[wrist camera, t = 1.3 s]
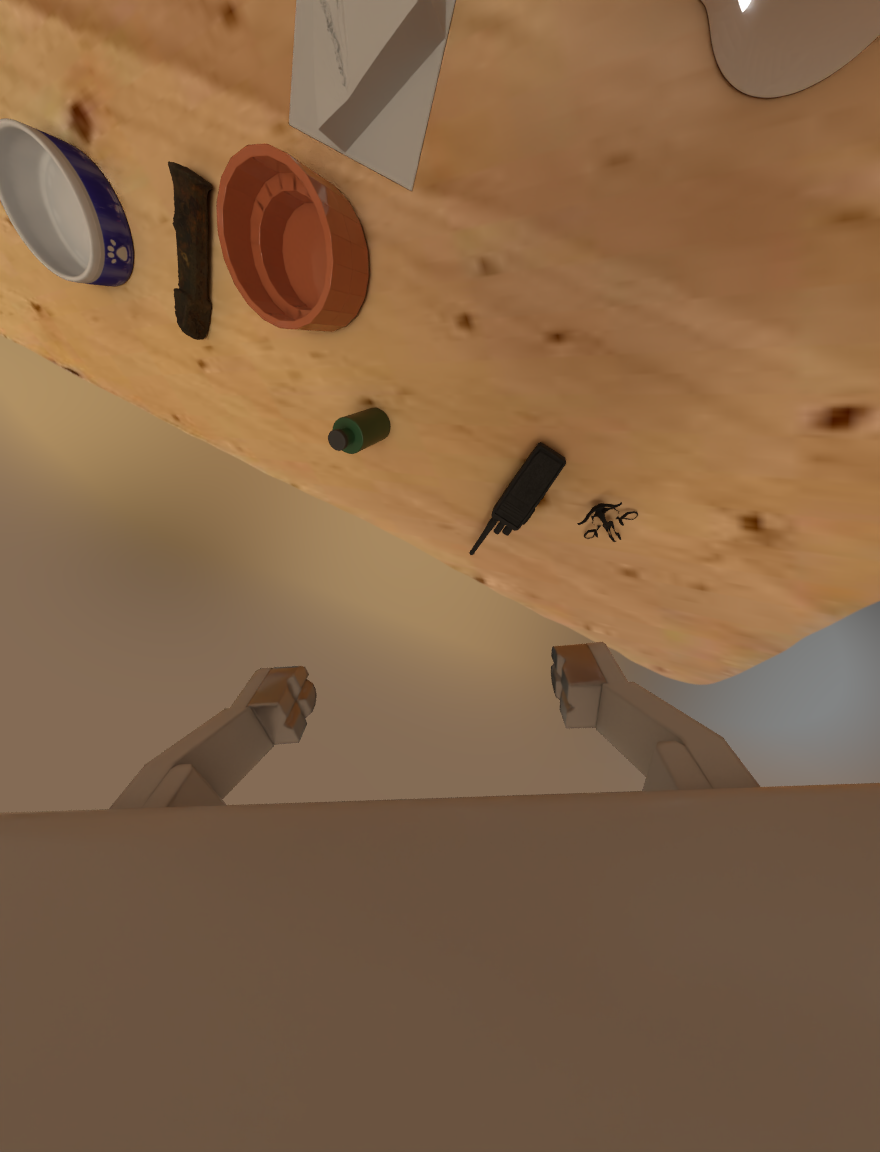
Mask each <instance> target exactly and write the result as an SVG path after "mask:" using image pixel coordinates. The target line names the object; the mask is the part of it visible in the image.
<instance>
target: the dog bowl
mask: <svg viewBox="0 0 880 1152" xmlns="http://www.w3.org/2000/svg"><path fill="white" fill-rule="evenodd" d="M0 200H1V203H2V205H3V207H4V209H5V211H6V213H7V215H8V217H9V219H10V221H11V223H12V224H13V226H14V228H15V229H16V231H17V233H18V234H19V236H20V237H21V239H22V240H23V241H24V243H25V244H26V245H27V247H28V248H29V249H30V251H31V252H32V253H33V254H34V255H35V256H36V258H37V259H38V260H39V261H40V262H41V263H42V264H43V265H44V266H46V267H47V268H48V269H49V270H50V271H52V272H53V273H54V274H56V275H57V276H59V277H61V278H63V279H65V280H68V281H72V282H78V283H86V284H94V285H104V286H119V285H122V284H123V283H125V282H126V281H127V280H128V278H129V277H130V275H131V272H132V268H133V262H134V252H133V243H132V238H131V233H130V229H129V226H128V223H127V220H126V217H125V214H124V212H123V209H122V207H121V205H120V203H119V200H118V198H117V196H116V195H115V193H114V191H113V189H112V187H111V186H110V184H109V182H108V181H107V179H106V178H105V176H104V175H103V174H102V172H101V171H100V170H99V168H98V167H97V166H96V165H95V164H94V163H93V162H92V161H91V160H90V159H89V158H88V157H87V156H86V155H85V154H84V153H83V152H82V151H80V150H79V149H77V148H76V147H74V146H72V145H70V144H68V143H66V142H64V141H62V140H60V139H58V138H56V137H53V136H51V135H49V134H47V133H44V132H42V131H40V130H37V129H35V128H32V127H30V126H28V125H26V124H23V123H21V122H18V121H15V120H12V119H0Z"/></svg>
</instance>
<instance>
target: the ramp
mask: <svg viewBox="0 0 880 1152" xmlns="http://www.w3.org/2000/svg"><path fill="white" fill-rule="evenodd" d="M455 2H456V0H297V1H296V17H295V34H294V50H293V67H292V83H291V100H290V116H289V125H290V126H292V127H294V128H296V129H298V130H300V131H302V132H303V133H305V134H307V135H309V136H311V137H313V138H314V139H316V140H318V141H320V142H322V143H324V144H326V145H327V146H329V147H331V148H333V149H335V150H337V151H338V152H340V153H342V154H344V155H346V156H348V157H350V158H351V159H353V160H355V161H357V162H359V163H361V164H362V165H364V166H366V167H368V168H370V169H372V170H374V171H375V172H377V173H379V174H381V175H383V176H385V177H386V178H388V179H390V180H392V181H394V182H396V183H398V184H399V185H401V186H403V187H405V188H407V189H409V190H410V191H412V189H413V185H414V180H415V176H416V172H417V167H418V163H419V159H420V154H421V150H422V146H423V141H424V137H425V132H426V128H427V124H428V119H429V115H430V111H431V106H432V102H433V98H434V93H435V89H436V84H437V80H438V76H439V71H440V67H441V63H442V58H443V54H444V50H445V45H446V41H447V36H448V32H449V28H450V23H451V19H452V15H453V10H454V6H455Z"/></svg>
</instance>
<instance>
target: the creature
mask: <svg viewBox="0 0 880 1152" xmlns="http://www.w3.org/2000/svg"><path fill="white" fill-rule="evenodd" d="M621 504H622V502H621V503H620V504H617V505H612V504H604V503H599V504H598V505H596V506H594V507H593V508H592V509H591V510H590V512H589V513H588V514H587V516H586V517H585V519H584V520H583V521H582V522H580V523H577V524H578V525H581V524H583V523H585V522H586V521H587V520H588V518H589V517H590V515H591V514H592V513H593V512H595V514H594V516H591V517H592V520H593V518H594V517H599V518H600V520H601V521H602V522H603V527H604V528H605V529H606V531H607V532H608V529H609V531H610V528H611V526H612V528H613V529H614V524H613V522H612V521H609V522H607V521H606V519H605V513H606V512H607V511H608V510H610V509H613V508H614V509H615V507H618V506H620V505H621ZM604 507H611V508H604ZM615 510H616V509H615ZM616 511H618V510H616ZM618 512H619V511H618ZM631 513H636V514H637V516H638V513H637V512H635V511H633V512H627V513H625V514H624V515H623V516H621V517H620V518H619V517H617V518H616V519H618V520H619V523H620V524H621V525H622V526H623V525H624V524H623V522H622V519H627V518H625V517H626V516H627V515H628V514H631ZM637 516H636V517H637ZM636 517H635V518H636ZM635 518H634V519H635ZM629 520H633V519H629ZM592 523H593V522H592ZM599 527H600V526H598V529H599ZM598 529H597V530H598ZM597 530H596V529H592V530H588V531H587V532H586V533H585V534H584V537H585V536H586V535H587V533H589V532H594V535H595V536H596V537H598V534H597ZM614 531H615V530H614ZM610 532H611V531H610ZM608 534H609V533H608ZM610 534H611V533H610ZM610 534H609V537H610V538H611V540H612V541H613V542H616V541H615V540H614V538H613V537H612V534H611V536H610ZM615 534H616V535H617V536H618V538H619V539H620V540H621V537H620V534H619V533H616V532H615ZM594 535H593V537H594ZM593 537H592V538H593ZM585 538H586V537H585ZM587 539H590V538H587Z"/></svg>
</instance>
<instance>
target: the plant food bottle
mask: <svg viewBox="0 0 880 1152" xmlns="http://www.w3.org/2000/svg"><path fill="white" fill-rule="evenodd" d="M389 432H390V421H389V418H388V417H387V415H386V414H385V413H384V412H383V411H382V410H380V409H378V408H371V409H367V410H364V411H361V412H358V413H355V414H351V415H348V416H345V417H342V418H339V419H338V420H337V421H336V422H335V423H334V426H333V430H332V431H331V432H330V433H329V435H328V441H329V443H330V445H331V447H332V448H333V449H335V450H338V451H341V450H342V451H344V452H346V453H349V454H354V453H357V452H359V451H361V450H363V449H365V448H367V447H369V446H371V445H373V444H375V443H377V442H379V441H381V440H383V439H385V438H386V437H387V436H388V434H389Z"/></svg>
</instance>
